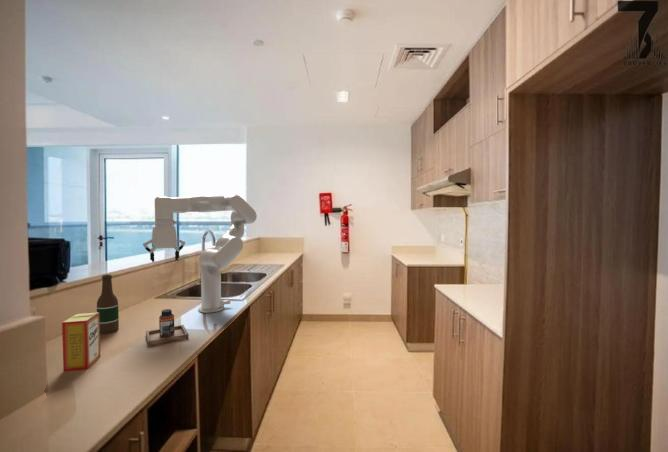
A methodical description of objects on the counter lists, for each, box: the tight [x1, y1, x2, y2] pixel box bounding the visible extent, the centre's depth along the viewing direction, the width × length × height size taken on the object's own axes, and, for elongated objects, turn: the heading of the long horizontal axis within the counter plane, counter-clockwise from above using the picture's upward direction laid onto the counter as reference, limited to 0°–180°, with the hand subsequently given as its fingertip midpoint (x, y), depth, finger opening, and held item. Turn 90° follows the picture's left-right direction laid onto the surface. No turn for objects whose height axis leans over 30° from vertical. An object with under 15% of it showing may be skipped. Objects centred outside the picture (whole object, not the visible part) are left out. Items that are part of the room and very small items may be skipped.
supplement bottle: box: [158, 308, 175, 337], centre depth 129 cm, size 5×5×10 cm
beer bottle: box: [96, 274, 120, 335], centre depth 136 cm, size 8×8×24 cm
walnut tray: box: [145, 324, 189, 348], centre depth 129 cm, size 14×13×2 cm
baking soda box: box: [61, 311, 101, 372], centre depth 106 cm, size 10×6×16 cm
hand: (165, 260), depth 148 cm, fingers open, 9 cm apart
